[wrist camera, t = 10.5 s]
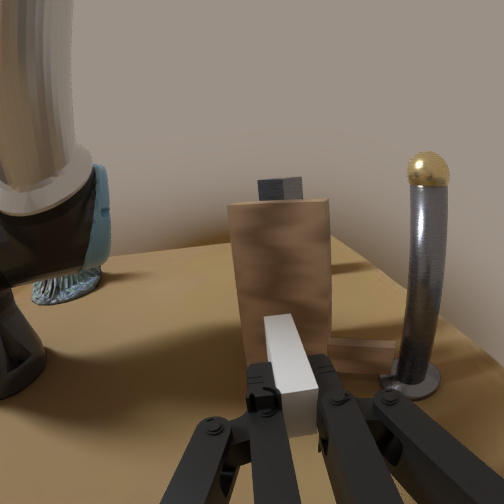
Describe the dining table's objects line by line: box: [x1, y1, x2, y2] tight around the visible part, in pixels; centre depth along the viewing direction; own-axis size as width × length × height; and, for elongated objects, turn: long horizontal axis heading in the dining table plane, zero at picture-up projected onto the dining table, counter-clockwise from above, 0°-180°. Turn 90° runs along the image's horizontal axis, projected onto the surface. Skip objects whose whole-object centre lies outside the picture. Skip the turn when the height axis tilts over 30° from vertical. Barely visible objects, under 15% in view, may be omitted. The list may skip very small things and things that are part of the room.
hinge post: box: [379, 151, 450, 401], centre depth 21 cm, size 6×6×20 cm
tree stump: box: [32, 266, 101, 305], centre depth 59 cm, size 18×20×18 cm
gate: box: [227, 199, 395, 375], centre depth 25 cm, size 14×2×16 cm, turn 67°
